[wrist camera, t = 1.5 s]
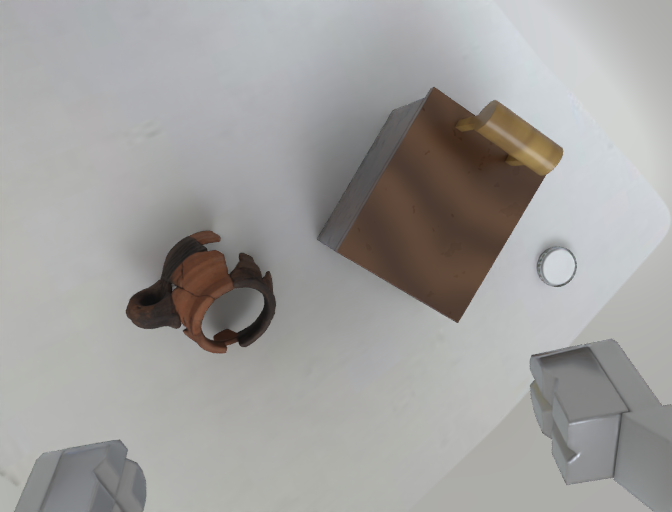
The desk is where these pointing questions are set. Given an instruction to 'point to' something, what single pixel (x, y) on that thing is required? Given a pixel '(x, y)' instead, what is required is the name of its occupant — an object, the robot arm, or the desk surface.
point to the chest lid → (449, 200)
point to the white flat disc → (557, 266)
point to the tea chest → (367, 174)
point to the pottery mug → (201, 293)
